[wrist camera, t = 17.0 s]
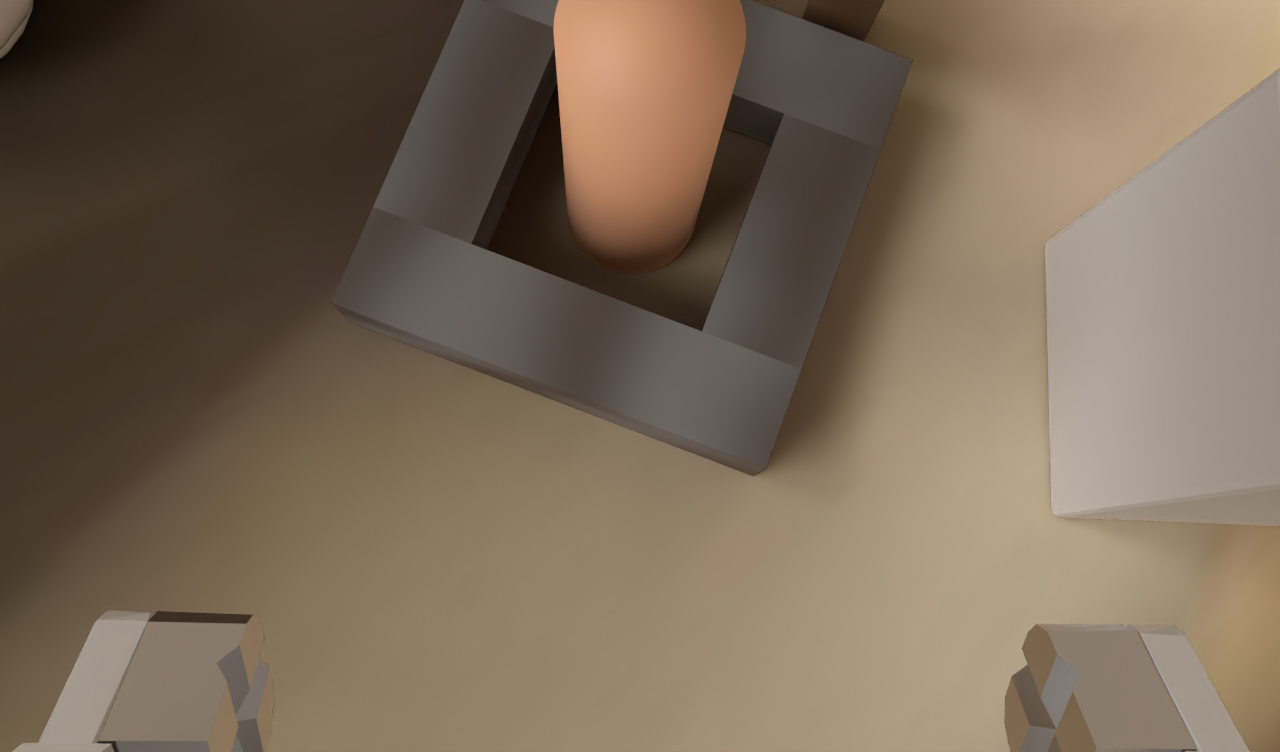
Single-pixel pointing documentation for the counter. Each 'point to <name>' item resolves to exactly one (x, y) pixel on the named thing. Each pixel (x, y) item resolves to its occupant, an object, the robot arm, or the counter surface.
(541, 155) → the counter surface
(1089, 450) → the soap bottle
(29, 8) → the flower vase
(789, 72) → the brown wooden tall frame
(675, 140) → the peg
